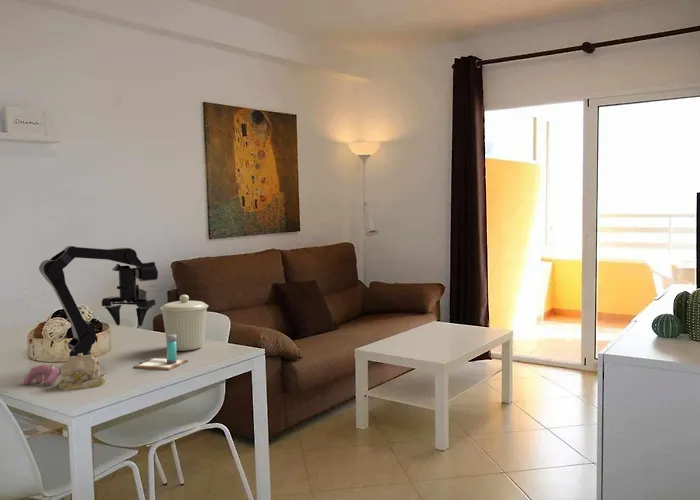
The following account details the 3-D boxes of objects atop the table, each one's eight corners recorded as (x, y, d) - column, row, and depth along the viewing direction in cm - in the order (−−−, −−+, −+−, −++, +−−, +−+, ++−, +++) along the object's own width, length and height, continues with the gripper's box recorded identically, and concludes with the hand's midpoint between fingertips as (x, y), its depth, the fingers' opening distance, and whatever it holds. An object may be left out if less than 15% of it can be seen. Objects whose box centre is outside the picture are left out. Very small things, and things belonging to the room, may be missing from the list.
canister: (198, 341, 251) (196, 290, 249) (217, 348, 236) (215, 294, 235) (154, 347, 240) (152, 294, 238) (172, 356, 225) (170, 299, 224)
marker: (173, 364, 210) (173, 336, 209) (164, 363, 211) (164, 336, 210) (178, 361, 213) (178, 334, 213) (170, 361, 214) (169, 334, 214)
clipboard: (168, 370, 205) (168, 366, 205) (132, 368, 209) (132, 364, 209) (187, 361, 217) (187, 357, 217) (153, 359, 220) (153, 355, 220)
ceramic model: (53, 392, 183) (51, 359, 182) (61, 382, 194) (59, 350, 193) (103, 387, 186) (102, 355, 186) (108, 378, 197) (107, 347, 197)
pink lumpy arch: (57, 388, 191) (63, 366, 194) (47, 386, 187) (54, 363, 190) (31, 387, 194) (37, 365, 196) (20, 384, 190) (27, 361, 192)
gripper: (163, 280, 224) (164, 322, 225) (119, 279, 229) (121, 320, 230) (145, 284, 213) (146, 328, 214) (99, 283, 218) (101, 326, 219)
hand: (129, 325), depth 220 cm, fingers open, 9 cm apart
